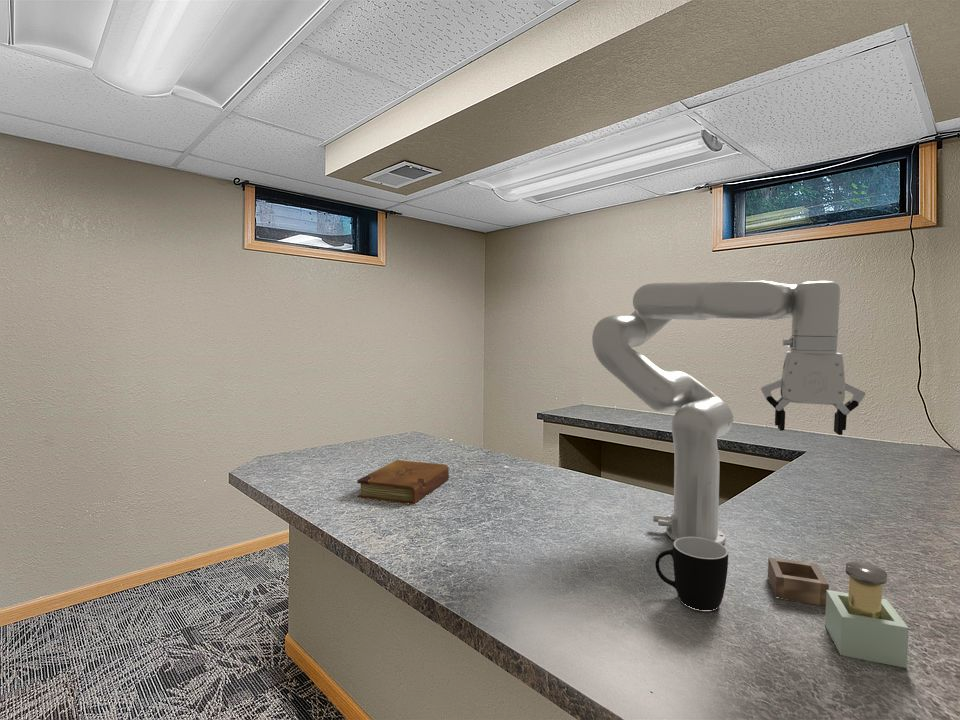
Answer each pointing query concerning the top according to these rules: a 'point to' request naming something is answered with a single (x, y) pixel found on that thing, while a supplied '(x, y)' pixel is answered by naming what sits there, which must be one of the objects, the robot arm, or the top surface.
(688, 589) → the mug
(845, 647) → the socket
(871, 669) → the top surface
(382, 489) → the diary
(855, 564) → the pin
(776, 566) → the mount
